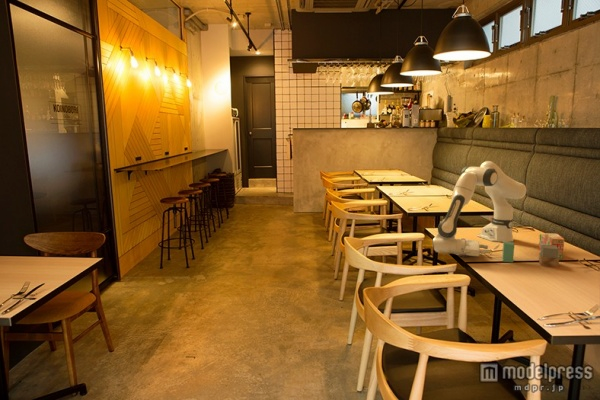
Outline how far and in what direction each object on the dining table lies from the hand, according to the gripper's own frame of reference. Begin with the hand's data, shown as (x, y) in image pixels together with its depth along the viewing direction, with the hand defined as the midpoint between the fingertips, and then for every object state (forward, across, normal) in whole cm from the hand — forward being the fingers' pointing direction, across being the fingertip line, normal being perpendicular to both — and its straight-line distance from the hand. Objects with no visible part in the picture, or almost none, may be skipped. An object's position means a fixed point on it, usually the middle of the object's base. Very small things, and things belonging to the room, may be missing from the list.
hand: (488, 249), depth 236 cm
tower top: (+30, 0, +1) cm, 30 cm away
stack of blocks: (+34, +22, +6) cm, 41 cm away
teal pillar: (+10, 0, +5) cm, 11 cm away
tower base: (+30, 0, +6) cm, 31 cm away
